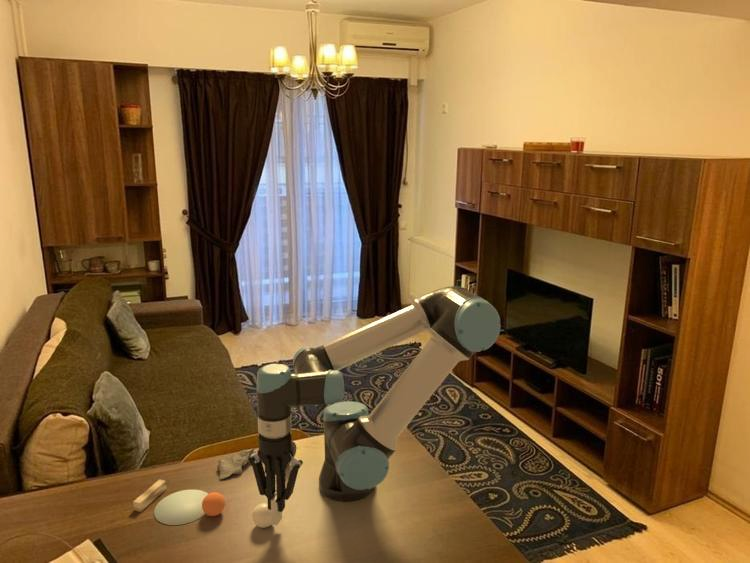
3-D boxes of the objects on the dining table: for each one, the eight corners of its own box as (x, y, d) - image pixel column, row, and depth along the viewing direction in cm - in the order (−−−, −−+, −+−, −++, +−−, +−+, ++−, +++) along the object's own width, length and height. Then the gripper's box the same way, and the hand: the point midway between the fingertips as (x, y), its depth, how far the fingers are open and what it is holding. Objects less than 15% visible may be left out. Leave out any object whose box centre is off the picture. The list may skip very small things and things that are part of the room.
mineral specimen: (261, 470, 159) (262, 457, 158) (221, 482, 152) (221, 468, 151) (252, 459, 164) (253, 446, 163) (212, 470, 157) (212, 456, 156)
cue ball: (273, 515, 138) (272, 496, 137) (278, 529, 133) (277, 509, 132) (250, 521, 136) (249, 501, 135) (255, 535, 131) (253, 514, 130)
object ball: (224, 504, 142) (222, 485, 141) (227, 517, 137) (225, 498, 136) (201, 509, 140) (200, 490, 139) (203, 523, 135) (202, 503, 134)
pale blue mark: (209, 485, 150) (209, 484, 150) (215, 516, 138) (215, 515, 138) (153, 497, 145) (153, 496, 145) (154, 531, 133) (154, 530, 132)
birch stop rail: (160, 487, 149) (159, 479, 149) (166, 489, 149) (165, 480, 148) (134, 510, 140) (133, 501, 139) (140, 511, 139) (139, 503, 139)
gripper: (240, 434, 125) (244, 526, 130) (294, 444, 122) (295, 537, 127) (256, 419, 132) (259, 506, 138) (307, 427, 129) (308, 516, 134)
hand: (276, 521), depth 132 cm, fingers closed
